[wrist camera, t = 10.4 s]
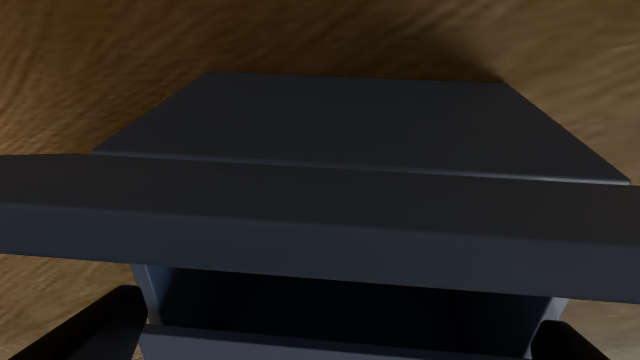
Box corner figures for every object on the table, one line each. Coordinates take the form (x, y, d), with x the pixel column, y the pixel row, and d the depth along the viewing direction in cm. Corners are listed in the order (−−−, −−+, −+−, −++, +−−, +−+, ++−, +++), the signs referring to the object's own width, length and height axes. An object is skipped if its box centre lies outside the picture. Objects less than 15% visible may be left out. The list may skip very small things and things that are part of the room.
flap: (-494, 216, 3) (-505, 167, 3) (72, 169, 8) (72, 153, 8) (1590, 383, 2) (1616, 312, 2) (652, 204, 7) (654, 186, 7)
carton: (234, 268, 20) (168, 427, 13) (206, 71, 15) (67, 164, 8) (451, 285, 20) (503, 465, 13) (507, 82, 14) (659, 200, 7)
